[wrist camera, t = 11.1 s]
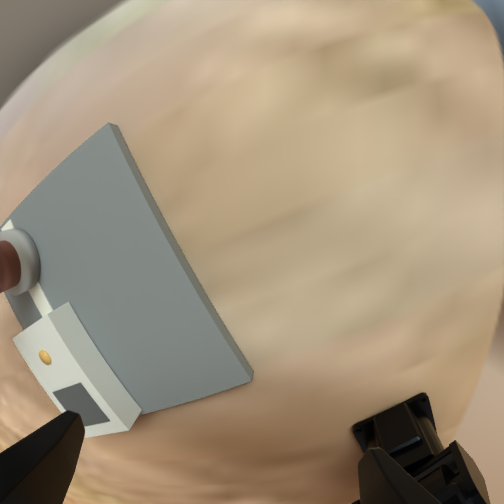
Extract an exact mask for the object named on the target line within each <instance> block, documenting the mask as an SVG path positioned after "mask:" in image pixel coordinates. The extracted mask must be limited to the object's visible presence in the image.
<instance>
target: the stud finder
mask: <svg viewBox="0 0 504 504" xmlns="http://www.w3.org/2000/svg"><path fill="white" fill-rule="evenodd" d="M12 340H13V341H14V343H15V345H16V347H17V348H18V350H19V352H20V353H21V355H22V357H23V358H24V360H25V361H26V363H27V365H28V366H29V368H30V369H31V371H32V372H33V374H34V375H35V377H36V378H37V380H38V381H39V383H40V384H41V385H42V387H43V388H44V390H45V391H46V393H47V394H48V395H49V397H50V398H51V399H52V401H53V402H54V403H55V405H56V406H57V407H58V409H59V410H60V411H61V412H62V413H63V412H65V411H67V410H71V411H74V412H77V413H79V414H80V415H81V418H82V421H83V424H84V428H85V436H84V438H87V437H93V436H100V435H106V434H112V433H118V432H123V431H128V430H130V428H131V427H132V425H133V423H134V422H135V420H136V418H137V417H138V415H139V414H140V412H141V410H142V409H141V408H140V407H139V406H138V404H137V403H136V402H135V401H134V399H133V398H132V397H131V395H130V394H129V393H128V392H127V390H126V389H125V388H124V386H123V385H122V384H121V382H120V381H119V379H118V378H117V377H116V375H115V374H114V373H113V371H112V370H111V368H110V367H109V365H108V364H107V363H106V361H105V360H104V358H103V357H102V355H101V354H100V352H99V351H98V349H97V348H96V346H95V345H94V343H93V341H92V340H91V338H90V337H89V335H88V334H87V332H86V330H85V329H84V327H83V325H82V324H81V322H80V320H79V319H78V317H77V315H76V314H75V312H74V310H73V308H72V307H71V305H70V303H69V301H68V302H67V303H65V304H63V305H62V306H60V307H58V308H57V309H55V310H53V311H52V312H50V313H49V314H47V315H45V316H44V317H42V318H41V319H40V320H38V321H37V322H35V323H34V324H32V325H31V326H29V327H28V328H26V329H25V330H24V331H22V332H21V333H19V334H18V335H16V336H15V337H14V338H12Z"/></svg>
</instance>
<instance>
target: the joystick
mask: <svg viewBox="0 0 504 504" xmlns="http://www.w3.org/2000/svg"><path fill="white" fill-rule="evenodd" d="M39 273H40V261H39V255H38V252H37V249H36V246H35V244H34V242H33V240H32V238H31V237H30V236H29V234H28V233H27V232H25V231H24V230H23V229H20V228H13V229H9V230H5V231H1V232H0V293H1V292H4V291H5V292H6V293H8V294H10V295H13V296H16V295H19V294H21V293H23V292H25V291H27V290H29V289H31V288H33V287H34V286H35V285H36V283H37V281H38V278H39Z"/></svg>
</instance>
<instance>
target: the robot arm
mask: <svg viewBox="0 0 504 504" xmlns="http://www.w3.org/2000/svg"><path fill="white" fill-rule="evenodd" d="M422 398H423V399H422ZM421 399H422V400H421ZM358 428H360V429H358ZM352 429H353V433H354V435H355V437H356V439H357V441H358V443H359V444H360V446H361V448H362V450H363V452H364V455H363V457H362V458H361V460H360V461H359V463H358V475H359V488H360V500H357V501H355V502H353V503H352V504H490V500H489V496H488V492H487V488H486V484H485V480H484V478H483V476H482V474H481V472H480V471H479V469H478V467H477V465H476V464H475V462H474V461H473V459H472V458H471V457H470V456H469V454H468V453H467V452H466V451H465V450H464V449H463V448H462V447H461V446H460V444H459V443H458V442H457V441H456V440H454V441H453V442H452V443H451V444H449V446H448V447H447V448H446V449H444V447H443V445H442V443H441V441H440V439H439V437H438V435H437V432H436V427H435V423H434V418H433V414H432V410H431V405H430V401H429V397H428V396H427V394H426V393H420V394H418V395H416V396H415V397H413V398H411V399H409V400H407V401H405V402H403V403H401V404H399V405H397V406H395V407H393V408H390V409H388V410H386V411H384V412H382V413H380V414H377V415H375V416H373V417H371V418H368V419H366V420H364V421H361V422H359V423H357V424H355V425H354V426H353V427H352ZM84 436H85V428H84V424H83V421H82V418H81V415H80V414H79V413H77V412H74V411H71V410H67V411H65V412H63V413H62V414H60V415H59V416H57V417H56V418H54V419H53V420H51V421H50V422H48V423H47V424H45V425H43V426H42V427H40V428H39V429H37V430H36V431H34V432H33V433H31V434H29V435H28V436H26V437H25V438H23V439H22V440H20V441H19V442H17V443H15V444H14V445H12V446H11V447H9V448H7V449H6V450H4V451H3V452H1V453H0V504H63V501H64V498H65V496H66V493H67V490H68V488H69V485H70V483H71V480H72V478H73V475H74V472H75V469H76V465H77V461H78V458H79V454H80V450H81V447H82V443H83V439H84Z"/></svg>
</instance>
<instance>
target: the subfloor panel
mask: <svg viewBox="0 0 504 504" xmlns="http://www.w3.org/2000/svg"><path fill="white" fill-rule="evenodd" d="M13 228H20V229H23V230H24V231H25V232H27V233H28V234H29V236H30V237H31V238H32V240H33V242H34V244H35V246H36V249H37V252H38V255H39V261H40V273H39V278H38V281H37V283H36V285H35V286H34V287H33V288H31V289H29V290H27V291H25V292H23V293H21V294H19V295H16V296H13V295H10V294H8V293H6V292H5V291H4V293H5V295H6V297H7V299H8V301H9V303H10V305H11V307H12V309H13V311H14V313H15V315H16V317H17V319H18V321H19V323H20V324H21V326H22V328H23V330H25V329H26V328H28V327H29V326H31V325H32V324H34V323H35V322H37V321H38V320H40V319H41V318H42V317H44V316H45V315H47V314H49V313H50V312H52V311H53V310H55V309H57V308H58V307H60V306H62V305H63V304H65V303H67V302H68V301H69V303H70V305H71V307H72V308H73V310H74V312H75V314H76V315H77V317H78V319H79V320H80V322H81V324H82V325H83V327H84V329H85V330H86V332H87V334H88V335H89V337H90V338H91V340H92V341H93V343H94V345H95V346H96V348H97V349H98V351H99V352H100V354H101V355H102V357H103V358H104V360H105V361H106V363H107V364H108V365H109V367H110V368H111V370H112V371H113V373H114V374H115V375H116V377H117V378H118V379H119V381H120V382H121V384H122V385H123V386H124V388H125V389H126V390H127V392H128V393H129V394H130V395H131V397H132V398H133V399H134V401H135V402H136V403H137V404H138V406H139V407H140V408H141V409H142V410H141V412H140V414H139V415H142V414H146V413H150V412H154V411H158V410H162V409H166V408H169V407H173V406H176V405H180V404H183V403H187V402H190V401H193V400H197V399H200V398H203V397H206V396H209V395H212V394H216V393H219V392H222V391H225V390H228V389H231V388H233V387H236V386H239V385H242V384H245V383H248V382H250V381H252V377H253V372H254V371H253V370H252V368H251V366H250V365H249V363H248V362H247V360H246V359H245V357H244V355H243V354H242V352H241V351H240V349H239V347H238V346H237V344H236V343H235V341H234V339H233V338H232V336H231V334H230V333H229V331H228V330H227V328H226V326H225V325H224V323H223V321H222V320H221V318H220V316H219V315H218V313H217V311H216V310H215V308H214V306H213V305H212V303H211V301H210V299H209V298H208V296H207V294H206V293H205V291H204V289H203V288H202V286H201V284H200V282H199V281H198V279H197V277H196V275H195V274H194V272H193V270H192V268H191V267H190V265H189V263H188V261H187V259H186V258H185V256H184V254H183V252H182V250H181V249H180V247H179V245H178V243H177V241H176V240H175V238H174V236H173V234H172V232H171V230H170V229H169V227H168V225H167V223H166V221H165V219H164V217H163V215H162V214H161V212H160V210H159V208H158V206H157V204H156V202H155V200H154V198H153V196H152V194H151V193H150V191H149V189H148V187H147V185H146V183H145V181H144V179H143V177H142V175H141V173H140V171H139V169H138V167H137V165H136V163H135V161H134V159H133V157H132V155H131V153H130V151H129V149H128V146H127V144H126V142H125V140H124V138H123V136H122V134H121V132H120V130H119V128H118V125H115V124H111V123H107V124H106V125H105V126H103V127H102V128H101V129H100V130H98V131H97V132H96V133H95V134H94V135H92V136H91V137H90V138H89V139H88V140H86V141H85V142H84V143H83V144H82V145H80V146H79V147H78V148H77V149H76V150H75V151H74V152H72V153H71V154H70V155H69V156H68V157H67V158H66V159H65V160H64V161H62V162H61V163H60V164H59V165H58V166H57V167H56V168H55V169H54V170H53V171H52V172H51V173H50V174H49V175H48V176H47V177H46V178H45V179H44V180H43V181H42V182H41V183H40V184H39V185H38V186H37V187H36V188H35V189H34V190H33V191H32V192H31V193H30V194H29V195H28V196H27V197H26V198H25V199H24V200H23V201H22V202H21V203H20V205H19V206H18V207H17V208H16V209H15V210H14V211H13V212H12V213H11V215H10V216H9V217H8V218H7V219H6V220H5V222H4V223H3V224H2V225H1V226H0V232H1V231H5V230H9V229H13Z"/></svg>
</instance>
